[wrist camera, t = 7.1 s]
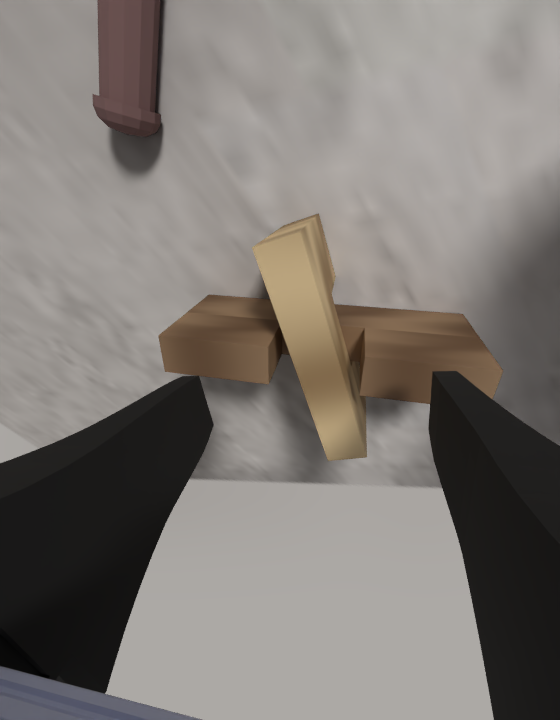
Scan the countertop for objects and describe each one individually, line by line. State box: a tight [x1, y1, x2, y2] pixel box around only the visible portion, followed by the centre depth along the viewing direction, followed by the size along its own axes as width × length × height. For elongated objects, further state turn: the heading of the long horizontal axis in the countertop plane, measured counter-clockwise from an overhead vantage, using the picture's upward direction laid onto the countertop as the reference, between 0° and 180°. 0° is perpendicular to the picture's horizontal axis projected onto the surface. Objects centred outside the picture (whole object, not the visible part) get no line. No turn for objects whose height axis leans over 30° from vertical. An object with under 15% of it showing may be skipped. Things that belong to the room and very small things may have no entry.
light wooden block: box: [252, 214, 367, 461], centre depth 14 cm, size 9×2×5 cm, turn 19°
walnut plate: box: [159, 295, 503, 404], centre depth 14 cm, size 12×2×5 cm, turn 90°
